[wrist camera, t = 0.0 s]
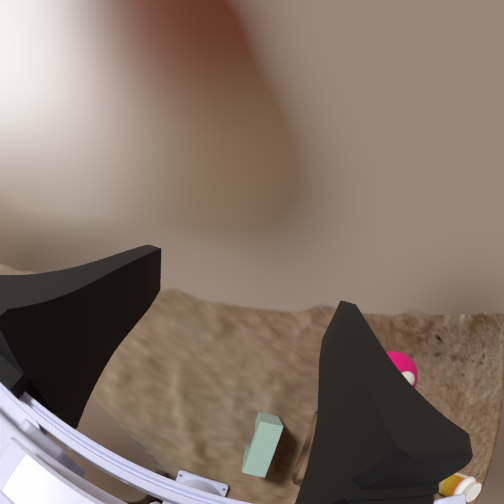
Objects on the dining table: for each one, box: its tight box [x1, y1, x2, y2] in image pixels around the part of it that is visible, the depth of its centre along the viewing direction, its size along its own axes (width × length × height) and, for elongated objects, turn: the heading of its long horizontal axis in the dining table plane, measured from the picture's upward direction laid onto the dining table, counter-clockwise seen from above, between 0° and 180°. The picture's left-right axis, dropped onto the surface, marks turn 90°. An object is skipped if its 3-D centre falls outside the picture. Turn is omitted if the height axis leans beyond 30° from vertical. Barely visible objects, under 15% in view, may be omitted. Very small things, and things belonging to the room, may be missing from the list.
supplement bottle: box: [438, 472, 481, 502], centre depth 24 cm, size 5×5×10 cm
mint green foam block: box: [242, 412, 283, 478], centre depth 32 cm, size 8×3×7 cm, turn 163°
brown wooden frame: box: [292, 412, 317, 485], centre depth 33 cm, size 12×6×3 cm, turn 163°
